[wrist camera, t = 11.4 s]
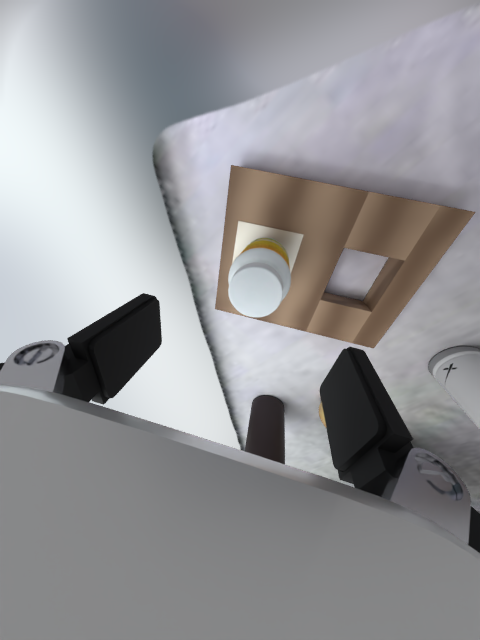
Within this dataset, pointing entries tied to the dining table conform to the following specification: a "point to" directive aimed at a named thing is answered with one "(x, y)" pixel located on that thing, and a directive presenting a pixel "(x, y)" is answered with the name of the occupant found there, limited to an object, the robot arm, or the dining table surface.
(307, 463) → the dining table surface
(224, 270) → the socket board
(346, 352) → the robot arm
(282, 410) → the vinegar
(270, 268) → the supplement bottle
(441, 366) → the travel mug
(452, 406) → the dining table surface
